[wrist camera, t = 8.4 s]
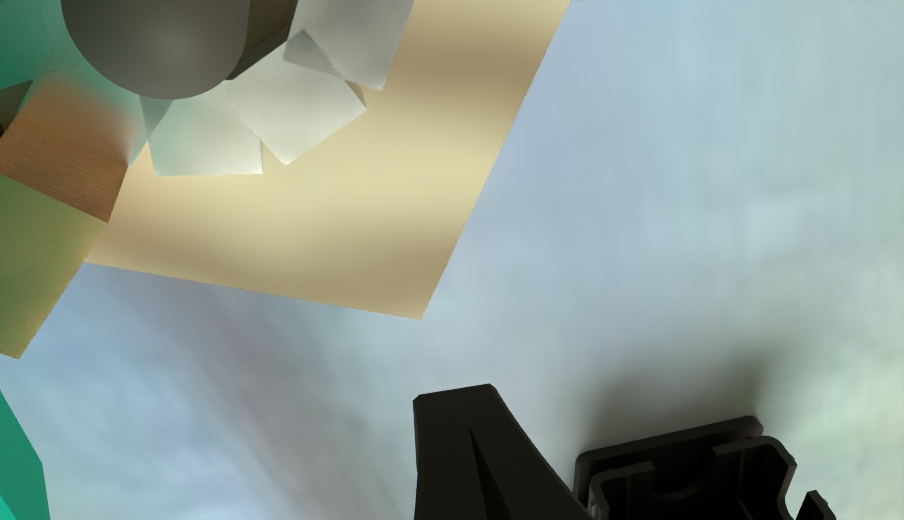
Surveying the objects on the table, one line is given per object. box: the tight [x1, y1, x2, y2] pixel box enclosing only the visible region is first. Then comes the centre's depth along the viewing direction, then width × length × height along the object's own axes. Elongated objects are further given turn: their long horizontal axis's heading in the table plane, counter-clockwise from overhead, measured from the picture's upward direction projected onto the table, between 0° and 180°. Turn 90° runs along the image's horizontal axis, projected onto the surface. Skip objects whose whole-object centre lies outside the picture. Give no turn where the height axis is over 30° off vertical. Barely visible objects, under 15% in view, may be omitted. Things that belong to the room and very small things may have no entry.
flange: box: [0, 0, 415, 359], centre depth 14 cm, size 14×10×4 cm
